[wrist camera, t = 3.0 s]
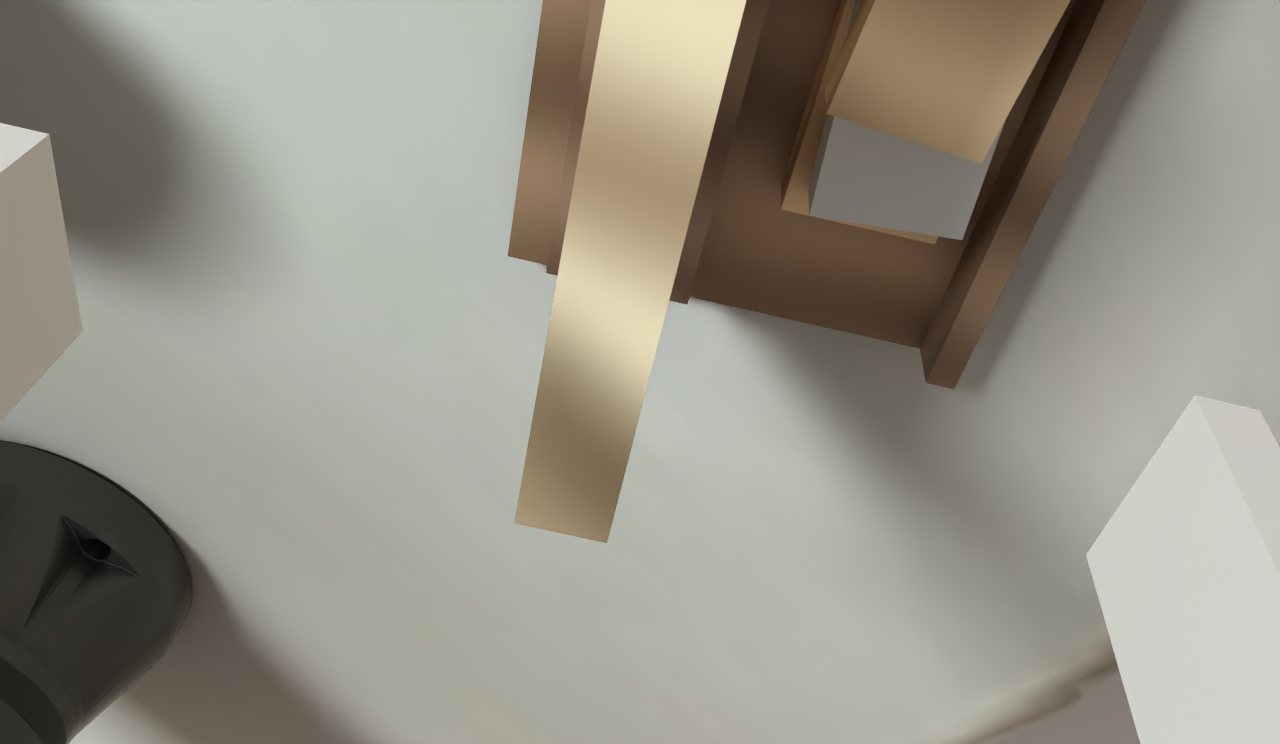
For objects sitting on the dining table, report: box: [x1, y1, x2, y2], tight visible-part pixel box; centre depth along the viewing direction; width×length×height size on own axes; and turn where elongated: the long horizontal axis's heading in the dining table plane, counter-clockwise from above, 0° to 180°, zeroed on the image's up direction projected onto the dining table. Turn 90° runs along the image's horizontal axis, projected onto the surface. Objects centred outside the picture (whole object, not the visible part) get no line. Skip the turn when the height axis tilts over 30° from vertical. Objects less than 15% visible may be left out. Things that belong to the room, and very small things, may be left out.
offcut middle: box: [808, 0, 1005, 240], centre depth 29 cm, size 12×5×2 cm, turn 173°
